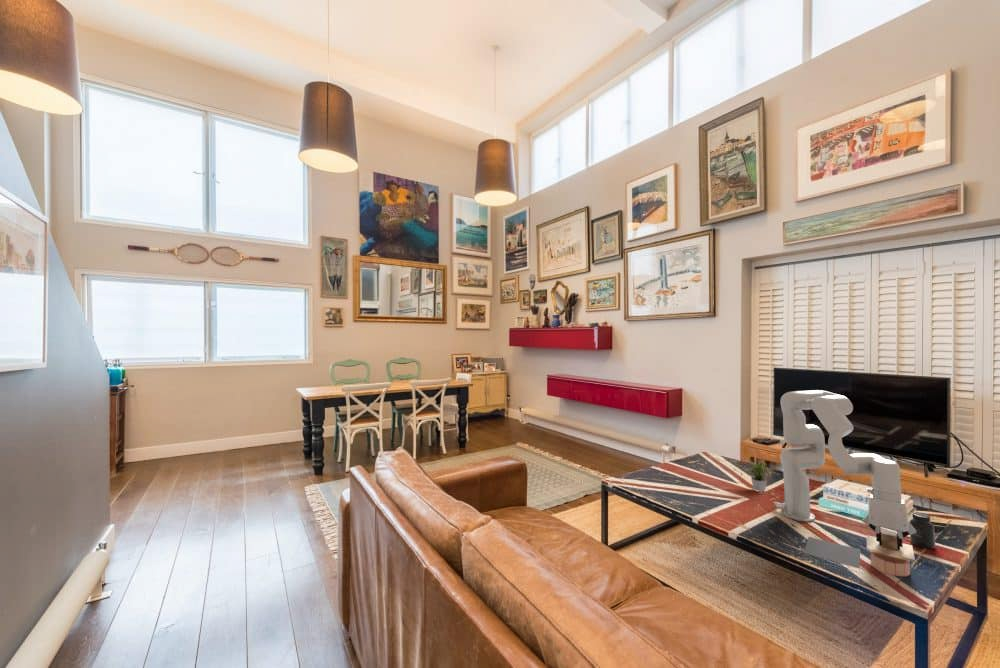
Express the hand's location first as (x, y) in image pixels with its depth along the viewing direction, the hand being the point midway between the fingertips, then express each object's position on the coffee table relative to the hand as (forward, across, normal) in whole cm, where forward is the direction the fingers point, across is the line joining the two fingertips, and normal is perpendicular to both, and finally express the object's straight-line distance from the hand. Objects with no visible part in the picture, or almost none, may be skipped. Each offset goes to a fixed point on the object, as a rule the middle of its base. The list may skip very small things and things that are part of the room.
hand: (889, 545), depth 142 cm
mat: (+9, -16, +1) cm, 18 cm away
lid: (+1, 0, 0) cm, 1 cm away
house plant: (+9, -50, +56) cm, 76 cm away
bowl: (+9, 0, 0) cm, 9 cm away
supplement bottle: (+9, +10, +30) cm, 33 cm away
